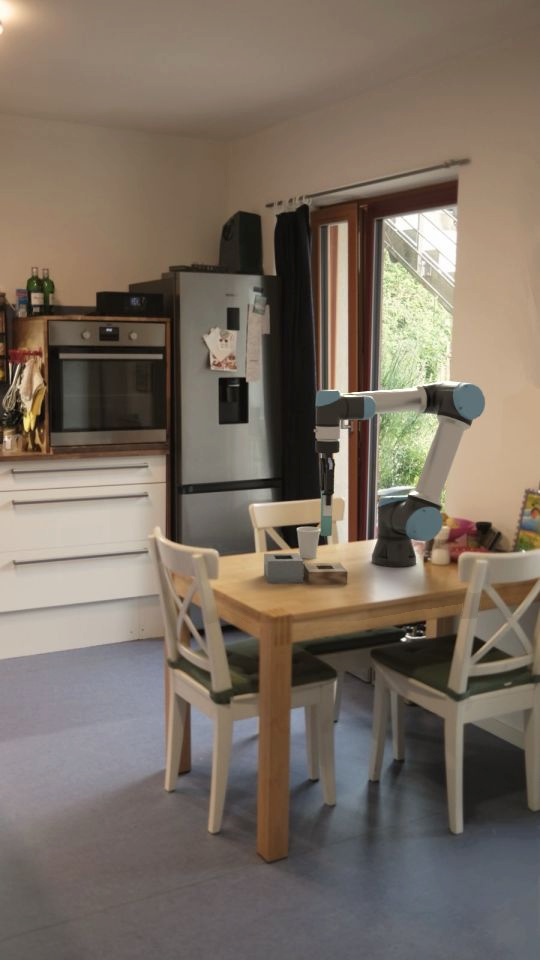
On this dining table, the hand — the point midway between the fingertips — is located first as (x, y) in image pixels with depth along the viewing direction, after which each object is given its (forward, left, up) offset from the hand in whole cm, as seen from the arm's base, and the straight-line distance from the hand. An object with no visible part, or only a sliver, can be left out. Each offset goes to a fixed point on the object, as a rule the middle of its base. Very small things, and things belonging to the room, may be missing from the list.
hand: (326, 514), depth 306 cm
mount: (0, 0, -21) cm, 21 cm away
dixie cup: (0, -34, -21) cm, 40 cm away
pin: (0, 0, -7) cm, 7 cm away
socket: (+13, -2, -21) cm, 25 cm away
